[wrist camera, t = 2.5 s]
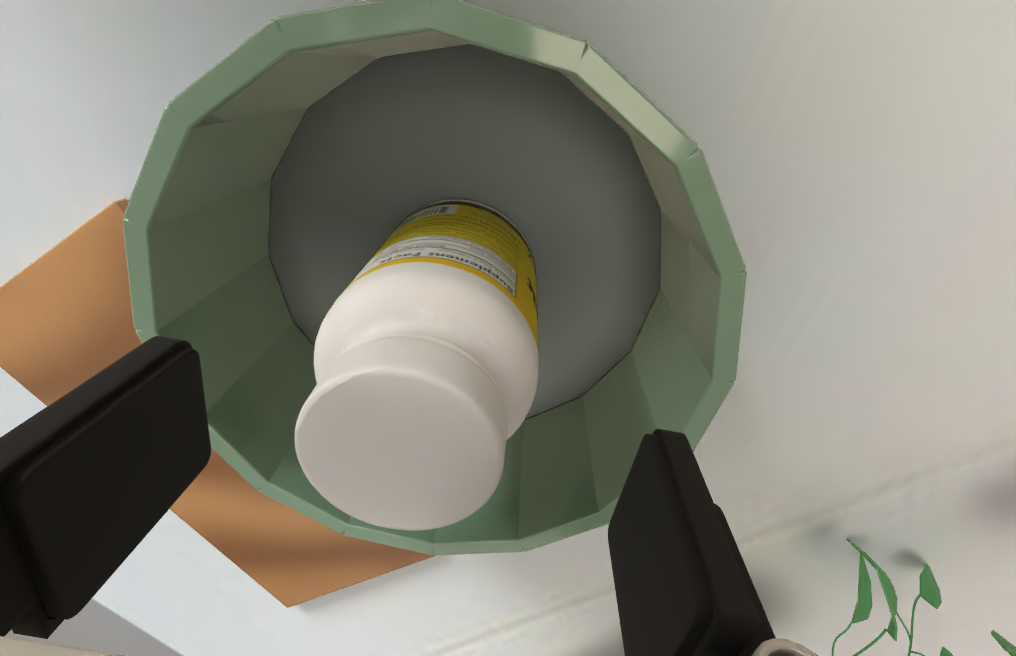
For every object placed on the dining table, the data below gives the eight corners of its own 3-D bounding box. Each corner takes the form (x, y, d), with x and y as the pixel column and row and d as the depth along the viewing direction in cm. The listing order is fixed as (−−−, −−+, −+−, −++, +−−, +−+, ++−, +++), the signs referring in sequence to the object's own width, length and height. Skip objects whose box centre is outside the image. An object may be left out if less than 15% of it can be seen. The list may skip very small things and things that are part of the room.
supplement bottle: (501, 355, 19) (473, 586, 11) (370, 302, 19) (227, 505, 10) (563, 234, 17) (592, 407, 8) (417, 167, 16) (280, 282, 8)
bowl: (161, 188, 17) (-8, 242, 12) (553, -100, 13) (565, -217, 8) (412, 478, 23) (374, 602, 18) (737, 345, 19) (816, 454, 13)
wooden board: (-36, 318, 20) (-51, 325, 19) (126, 197, 17) (112, 201, 17) (291, 598, 28) (287, 608, 27) (439, 545, 25) (437, 555, 24)
